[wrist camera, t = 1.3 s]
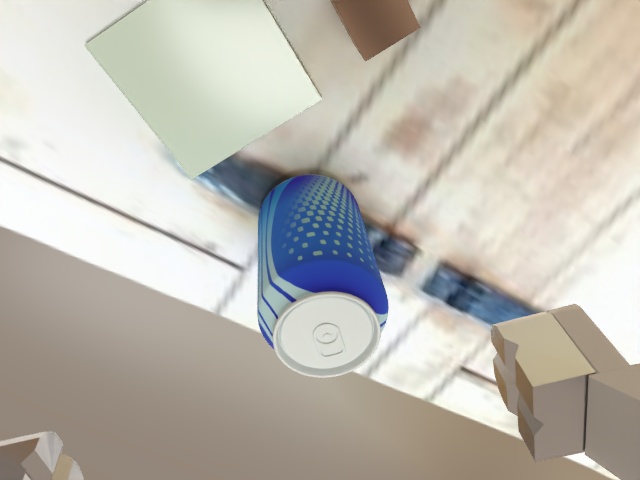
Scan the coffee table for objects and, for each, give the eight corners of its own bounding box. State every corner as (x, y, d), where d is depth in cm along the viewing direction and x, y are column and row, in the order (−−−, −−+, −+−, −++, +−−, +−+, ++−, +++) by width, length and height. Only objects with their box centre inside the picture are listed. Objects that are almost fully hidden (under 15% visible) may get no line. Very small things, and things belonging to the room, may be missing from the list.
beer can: (243, 237, 48) (236, 369, 35) (281, 152, 45) (290, 262, 31) (331, 267, 51) (357, 401, 37) (374, 189, 47) (421, 305, 33)
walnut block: (377, -39, 38) (392, -32, 34) (403, 14, 40) (420, 27, 36) (327, -6, 39) (335, 5, 35) (354, 45, 41) (365, 61, 37)
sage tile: (228, -57, 37) (228, -56, 36) (321, 97, 43) (322, 99, 42) (86, 43, 39) (84, 45, 39) (192, 176, 45) (191, 179, 44)
